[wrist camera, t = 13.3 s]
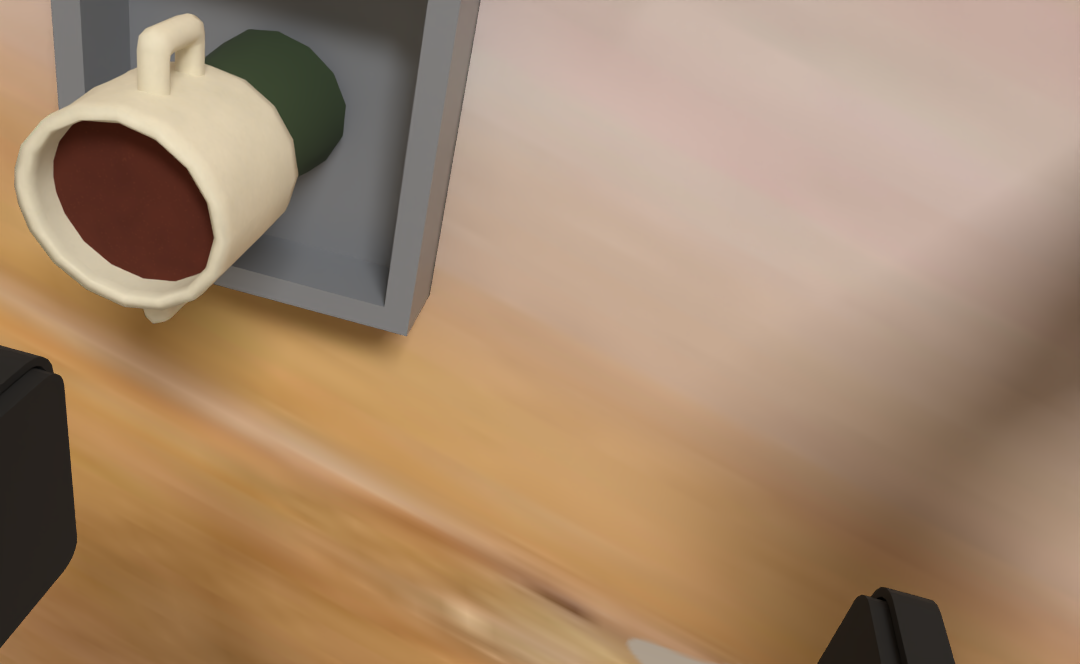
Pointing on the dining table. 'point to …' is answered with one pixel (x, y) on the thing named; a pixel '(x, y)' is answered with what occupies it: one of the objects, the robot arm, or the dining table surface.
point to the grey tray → (356, 161)
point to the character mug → (177, 162)
